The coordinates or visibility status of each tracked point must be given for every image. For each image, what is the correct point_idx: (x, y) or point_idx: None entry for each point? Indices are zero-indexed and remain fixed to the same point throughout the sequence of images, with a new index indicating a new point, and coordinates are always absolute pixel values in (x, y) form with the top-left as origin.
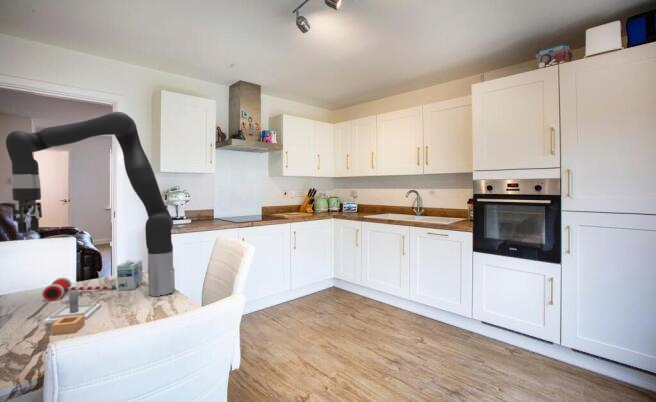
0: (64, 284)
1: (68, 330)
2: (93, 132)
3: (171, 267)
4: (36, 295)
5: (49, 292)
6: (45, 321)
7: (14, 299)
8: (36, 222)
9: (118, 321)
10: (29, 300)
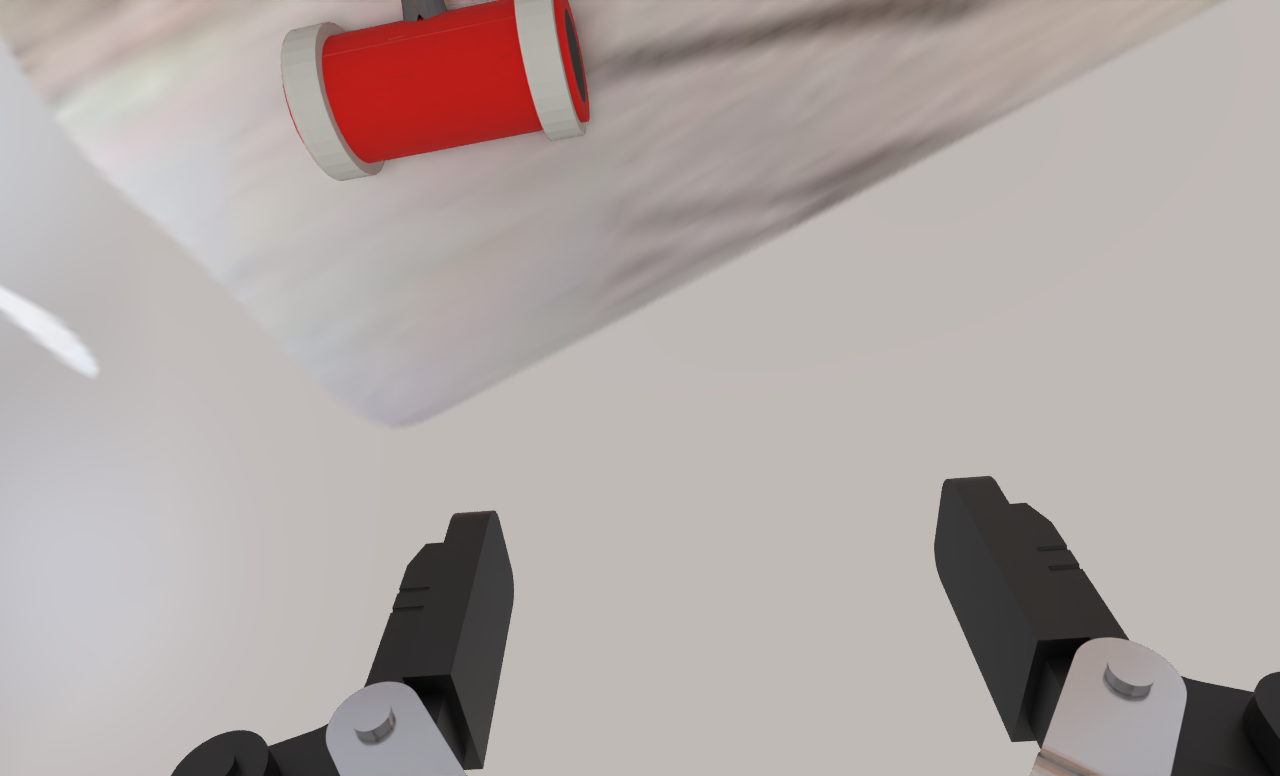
0: (410, 35)
1: None
2: None
3: None
4: (421, 247)
5: (580, 80)
6: None
7: (492, 340)
8: (467, 643)
9: None
10: (535, 231)
